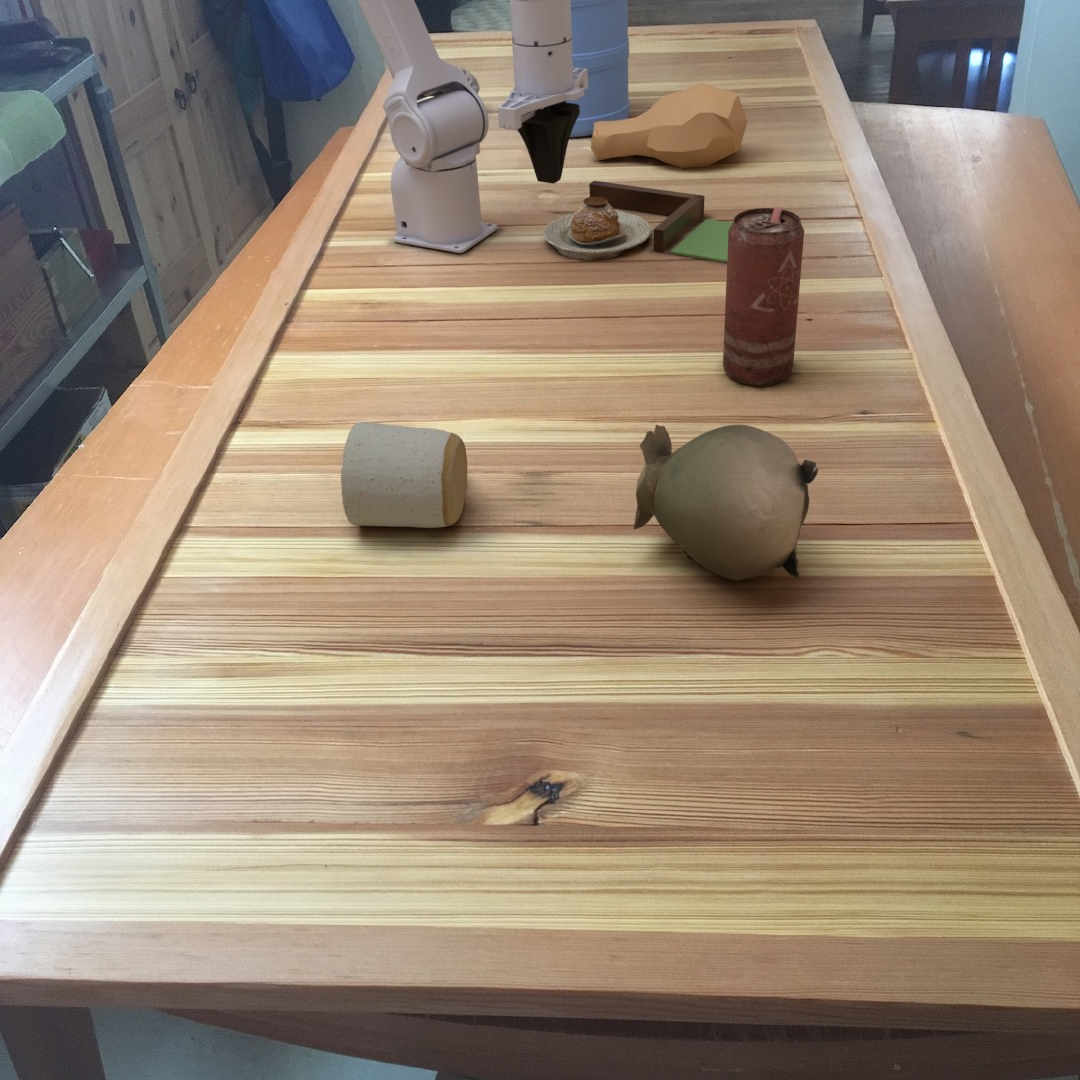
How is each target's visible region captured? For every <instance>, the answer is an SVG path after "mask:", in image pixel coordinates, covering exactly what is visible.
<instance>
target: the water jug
mask: <svg viewBox="0 0 1080 1080" xmlns="http://www.w3.org/2000/svg"><path fill="white" fill-rule="evenodd" d="M628 3H629V0H571V28H572V56H573V68H582V69H588V89H586V90H584V96H583V97H581V98H579V99H577V100H566V103H574V104H578V105H579V106H580V114H579V116H578V118H577V120H576V122H575V124H574V127H573V129H572V132H571V135H570V138H583V137H592V135H593V131H594V123H595V122H599V121H617V120H623V119H629V118H630V110H631V109H630V106H631V105H630V104H631V103H630V99H629V59H630V38H629V8H628V7H629V4H628Z"/></svg>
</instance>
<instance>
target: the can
mask: <svg viewBox="0 0 1080 1080" xmlns="http://www.w3.org/2000/svg"><path fill="white" fill-rule="evenodd" d="M801 222H802V220H801V218H800V216H799V215H798V214H796V213H794V212H793V211H789V210H787V209H783V207H774V208H773V207H760V208H759V207H757V208H751V209H748V210H744V211H742V212H739V213H738V214H736V215H734V217H733V220H732V222H731V223H732V224H731V226H730V228H729V230H728V254H727V263H726V281H725V282H726V283H725V304H724V306H725V307H724V325H723V326H724V329H723V348H722V349H723V350H722V352H723V353H722V366H723V370H724V372H725V373H726V374H727V376H728V377H729V378H730V379H731V380H733V381H735V382H736V383H738V384H742V385H745V386H753V387H763V386H764V387H767V386H772V385H776V384H778V383H780V382H783V381H784V380H785V379H786V378H788V376H789V375H790V374H791V372H792V371H793V369H794V361H795V349H796V338H797V337H796V336H797V325H798V311H799V299H800V290H801V289H800V288H801V278H802V277H801V275H802V265H803V264H802V263H803V252H804V242H805V241H804V240H805V229H804V227H803V225H802V223H801Z"/></svg>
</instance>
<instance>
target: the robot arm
mask: <svg viewBox="0 0 1080 1080" xmlns="http://www.w3.org/2000/svg"><path fill="white" fill-rule="evenodd" d="M357 3H358V5H359V7H360V9H361V11H362V14H363V15H364V18H365V20H366V22H367V24H368V27H369V29H370V31H371V34H372V35H373V38H374V40H375V42H376V44H377V46H378V49H379V51H380V53H381V56H382V58H383V60H384V62H385V64H386V66H387V69H388V71H389V74H390V75H391V78H392V80H393V81H392V83H391V86H390V87H389V90H388V92H387V94H386V96H385V99H384V101H383V104H382V108H383V111H384V113H385V115H386V118H387V120H388V123H389V130H390V137H391V141H392V144H393V146H394V148H395V151H396V152H397V153H398V155H399V156H400V157H399V158H398V159H397V160H396V162H395V164H394V165H393V168H392V171H391V175H390V193H391V200H392V208H393V214H394V216H393V217H394V222H395V229H396V235H394V236H393V237H392V241H393V242H395V243H400V244H405V245H411V246H417V247H423V248H429V249H434V250H438V251H439V250H440V251H445V252H451V253H457V254H463V253H465V252H467V251H468V250H469V249H471V248H472V247H474V246H475V245H476V244H478V243H480V242H481V241H482V240H484V239H485V238H487V237H488V236H490V235H491V234H493V233H494V232H496V231H497V230H498V224H496V223H489V222H483V221H482V209H481V197H480V187H479V175H478V164H477V163H478V162H477V155H478V154H481V143H483V141H484V140H485V138H486V137H487V134H488V132H489V125H490V121H489V114H488V110H487V108H486V105H485V102H484V100H483V99H482V98H481V96H480V95H479V93H478V94H477V93H476V92H475V91H474V90H473V89H472V87H471V86H470V85H469V83H468V81H467V79H466V76H465V74H464V72H463V71H462V70H460V69H458V68H457V67H455V66H453V65H454V64H450V62H447V61H445V60H443V59H442V58H441V57H440V55H439V53H438V51H437V49H436V47H435V44H434V42H433V39H432V37H431V36H430V33H429V31H428V29H427V27H426V26H427V25H426V24H425V22H424V20H423V17H422V16H421V13H420V10H419V8H418V5H417V4H416V1H415V0H357ZM509 14H510V29H511V46H512V47H511V48H512V60H513V62H512V63H513V75H514V87H513V88H512V90H511V91H510V93H509V95H508V96H507V98H506V99H505V101H504V102H502V104H500V105H499V106H497V119H498V128H500V129H507V130H515V131H517V132H518V133H519V135H520V137H521V138H522V141H523V143H524V145H525V147H526V149H527V152H528V155H529V158H530V160H531V164H532V167H533V171H534V174H535V177H536V180H537V182H540V183H546V184H553V185H554V184H556V183H557V182H559V181H561V180H562V175H563V172H564V171H563V170H564V165H565V160H566V154H567V150H568V149H567V148H568V145H569V140H570V138H571V137H570V135H571V132H572V129H573V127H574V124H575V122H576V120H577V118H578V116H579V114H580V106H579V105H578V104H574V103H566V100H577V99H579V98H581V97H583V96H584V90H586V89H588V69H582V68H573V56H572V28H571V0H509ZM420 100H421V101H420Z"/></svg>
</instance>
